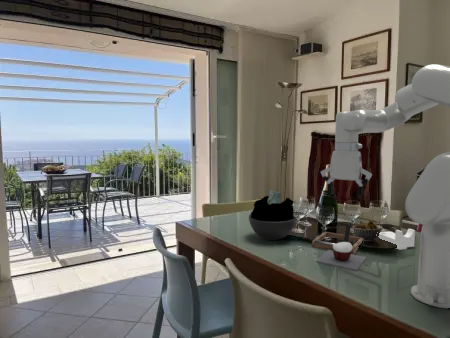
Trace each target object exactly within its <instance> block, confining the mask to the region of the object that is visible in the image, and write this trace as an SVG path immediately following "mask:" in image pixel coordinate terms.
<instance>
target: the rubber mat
mask: <svg viewBox="0 0 450 338" xmlns="http://www.w3.org/2000/svg"><path fill="white" fill-rule="evenodd" d="M366 260H367V256H362V255H356V254H354V255H352V254H351V256H350V258H349V259H348V260H347V261H339V260H337V259H336V258H335V257H334V254H333V251H332V250H326V251H325V252H324V253H323V254H321V256H319V257H318V258H317V259H316V260H315V262H316V263H317V264H318V263H319V264H324V265H328V266H332V267H338V268H341V269H346V270H351V271H355V272H357V271H359V269H360V268H361V266H362V265H363V264H364V262H366Z"/></svg>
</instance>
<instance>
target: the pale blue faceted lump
mask: <svg viewBox="0 0 450 338" xmlns="http://www.w3.org/2000/svg"><path fill="white" fill-rule="evenodd" d="M268 196H270V197H269V198H268V201H267V202H268V204H269V205H270V204H272V203H279V204H280V203H281V193H280V192H278V191H275V190H271V189H269V193H268Z"/></svg>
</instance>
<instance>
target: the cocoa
mask: <svg viewBox="0 0 450 338" xmlns="http://www.w3.org/2000/svg"><path fill="white" fill-rule="evenodd" d="M351 227H352V223H348V222H347V223H346V225H345V231H344V234H343V235H344V241H338V242H337V243H334V245H333V254H334V257H335V258H336V259H337V260H339V261H347V260H348V259H349V258H350V256H351V250H352V246H353V245H352V243H351V242H348V240H349V236H350V234H351Z"/></svg>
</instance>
